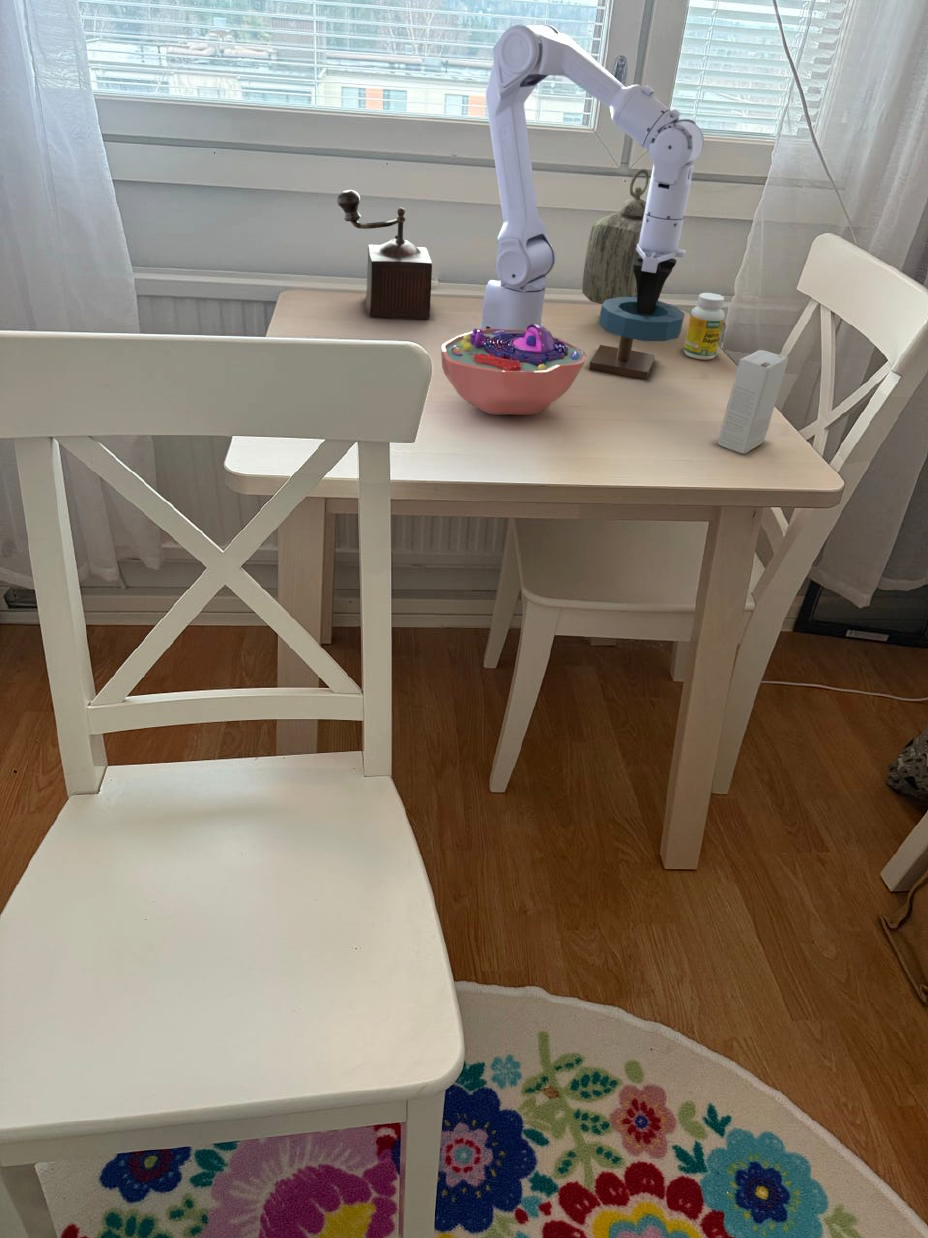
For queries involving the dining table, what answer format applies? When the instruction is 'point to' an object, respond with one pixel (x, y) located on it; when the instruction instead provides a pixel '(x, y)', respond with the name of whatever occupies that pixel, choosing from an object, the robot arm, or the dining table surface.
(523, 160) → the robot arm
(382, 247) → the manual coffee grinder
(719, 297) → the supplement bottle
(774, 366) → the cosmetic box
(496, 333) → the cell model
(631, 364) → the peg stand
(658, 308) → the ring
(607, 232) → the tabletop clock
